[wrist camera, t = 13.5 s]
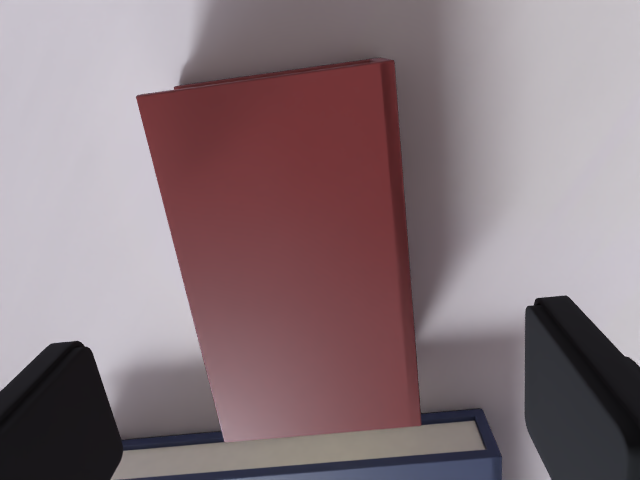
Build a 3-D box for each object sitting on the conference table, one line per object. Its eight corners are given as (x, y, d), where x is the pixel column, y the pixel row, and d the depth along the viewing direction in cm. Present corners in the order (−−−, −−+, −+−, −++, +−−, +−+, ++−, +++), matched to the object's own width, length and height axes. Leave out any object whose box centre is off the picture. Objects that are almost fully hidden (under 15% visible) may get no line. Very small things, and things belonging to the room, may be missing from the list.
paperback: (381, 57, 15) (394, 59, 12) (406, 361, 19) (421, 426, 16) (177, 85, 15) (135, 95, 12) (242, 376, 19) (224, 443, 16)
